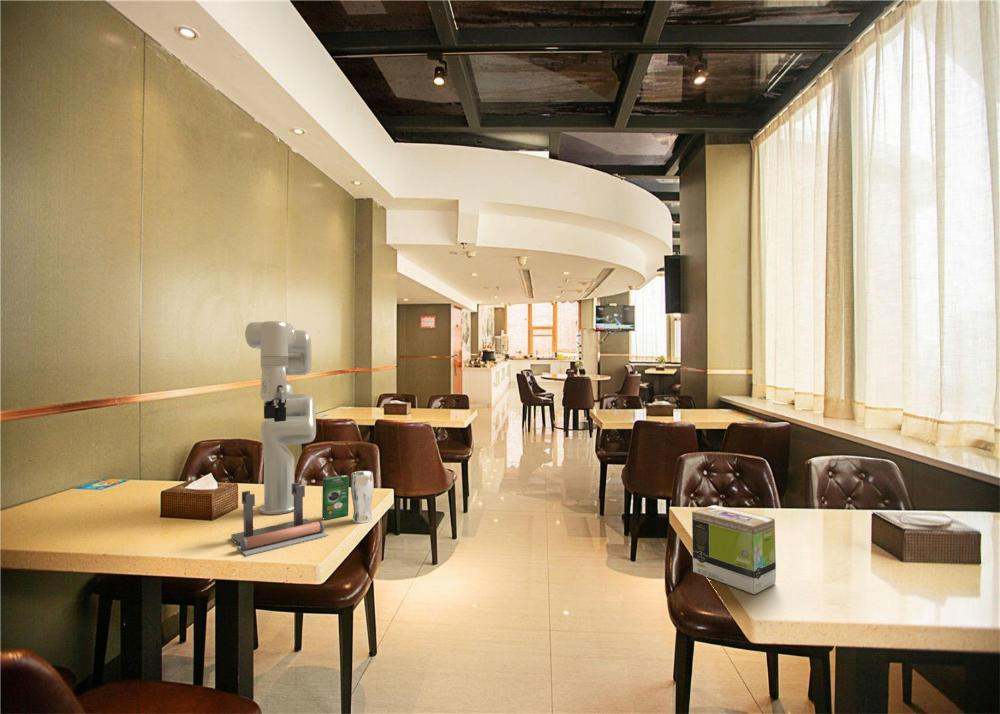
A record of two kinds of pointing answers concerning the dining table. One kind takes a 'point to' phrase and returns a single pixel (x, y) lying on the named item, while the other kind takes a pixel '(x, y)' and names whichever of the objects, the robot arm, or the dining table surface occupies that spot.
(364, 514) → the beer glass
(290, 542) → the mat
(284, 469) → the robot arm
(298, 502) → the hook stand
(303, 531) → the rod
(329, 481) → the coffee box
